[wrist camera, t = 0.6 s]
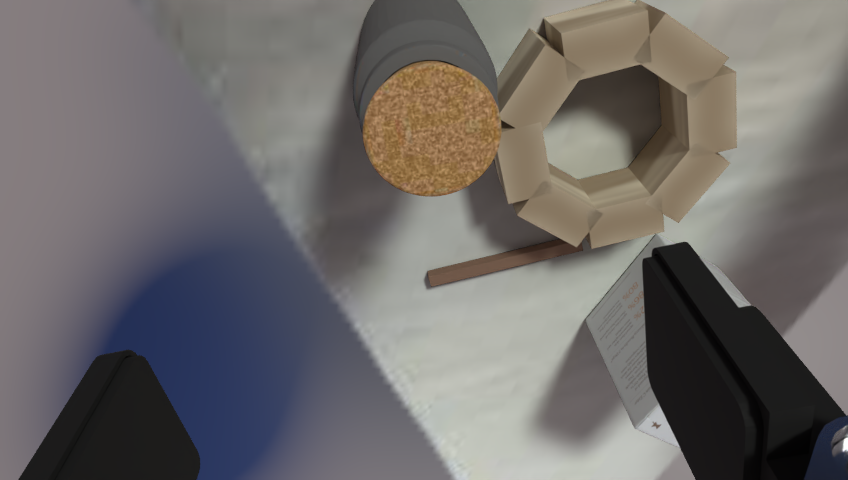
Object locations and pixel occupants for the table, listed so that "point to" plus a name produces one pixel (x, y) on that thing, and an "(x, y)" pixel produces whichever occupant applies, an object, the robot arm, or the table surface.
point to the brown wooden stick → (501, 261)
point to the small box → (637, 342)
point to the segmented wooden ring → (660, 158)
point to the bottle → (426, 96)
